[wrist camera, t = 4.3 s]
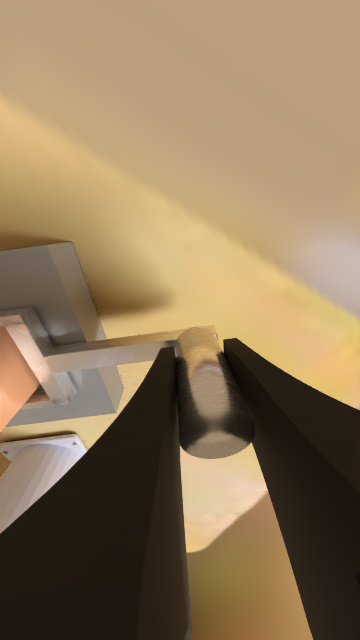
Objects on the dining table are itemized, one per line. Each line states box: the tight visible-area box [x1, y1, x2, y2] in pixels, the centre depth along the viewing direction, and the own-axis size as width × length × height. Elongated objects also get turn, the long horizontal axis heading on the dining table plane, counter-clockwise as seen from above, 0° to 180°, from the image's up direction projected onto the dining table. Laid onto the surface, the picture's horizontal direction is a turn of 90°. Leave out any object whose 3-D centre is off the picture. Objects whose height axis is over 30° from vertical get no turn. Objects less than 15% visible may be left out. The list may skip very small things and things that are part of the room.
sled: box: [0, 307, 256, 459], centre depth 8 cm, size 18×6×6 cm, turn 97°
